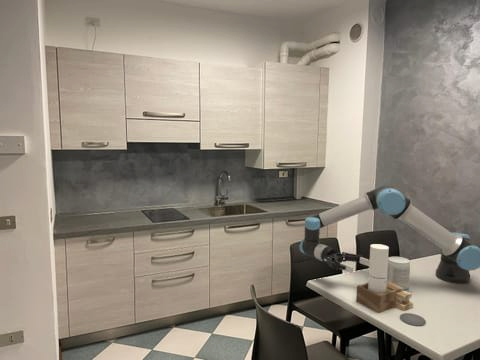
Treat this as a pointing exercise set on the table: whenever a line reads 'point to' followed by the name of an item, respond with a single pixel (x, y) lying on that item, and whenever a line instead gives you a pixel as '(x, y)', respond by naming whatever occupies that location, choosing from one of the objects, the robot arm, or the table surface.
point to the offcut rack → (384, 298)
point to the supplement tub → (399, 272)
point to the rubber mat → (412, 319)
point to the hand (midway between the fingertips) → (362, 267)
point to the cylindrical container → (378, 268)
